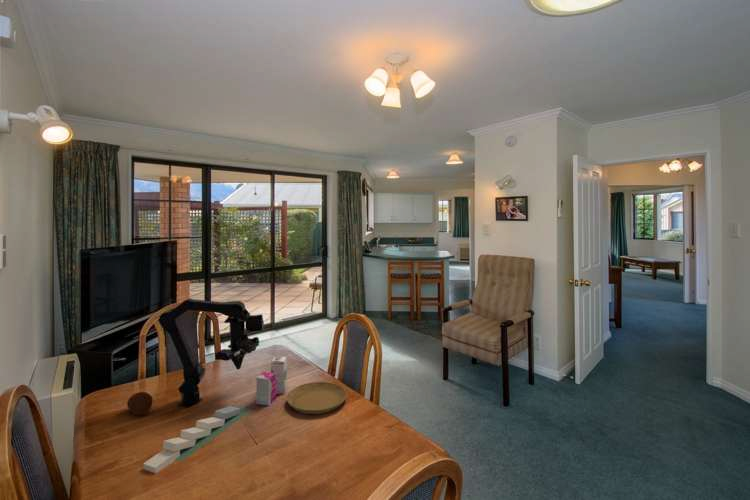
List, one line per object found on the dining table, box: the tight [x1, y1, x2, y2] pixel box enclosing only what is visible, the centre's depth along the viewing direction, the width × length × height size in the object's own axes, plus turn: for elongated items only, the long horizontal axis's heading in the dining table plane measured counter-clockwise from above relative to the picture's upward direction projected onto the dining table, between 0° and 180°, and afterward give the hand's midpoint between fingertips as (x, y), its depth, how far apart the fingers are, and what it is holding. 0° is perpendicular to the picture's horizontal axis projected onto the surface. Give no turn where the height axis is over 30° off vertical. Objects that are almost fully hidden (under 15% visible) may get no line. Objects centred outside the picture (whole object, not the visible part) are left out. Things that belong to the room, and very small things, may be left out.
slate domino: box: [213, 405, 241, 419], centre depth 130 cm, size 5×2×8 cm
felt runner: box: [174, 404, 253, 463], centre depth 122 cm, size 10×32×1 cm, turn 159°
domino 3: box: [179, 426, 211, 440], centre depth 116 cm, size 5×2×8 cm
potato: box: [126, 391, 154, 416], centre depth 134 cm, size 8×12×8 cm, turn 63°
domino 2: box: [161, 436, 196, 451], centre depth 110 cm, size 5×2×8 cm
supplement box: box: [255, 371, 277, 407], centre depth 141 cm, size 6×6×12 cm
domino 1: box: [142, 448, 180, 474], centre depth 105 cm, size 5×2×8 cm
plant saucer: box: [286, 381, 347, 415], centre depth 142 cm, size 24×24×3 cm
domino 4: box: [195, 416, 225, 430], centre depth 122 cm, size 5×2×8 cm
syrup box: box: [270, 356, 288, 395], centre depth 150 cm, size 6×6×14 cm
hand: (238, 369), depth 144 cm, fingers closed
